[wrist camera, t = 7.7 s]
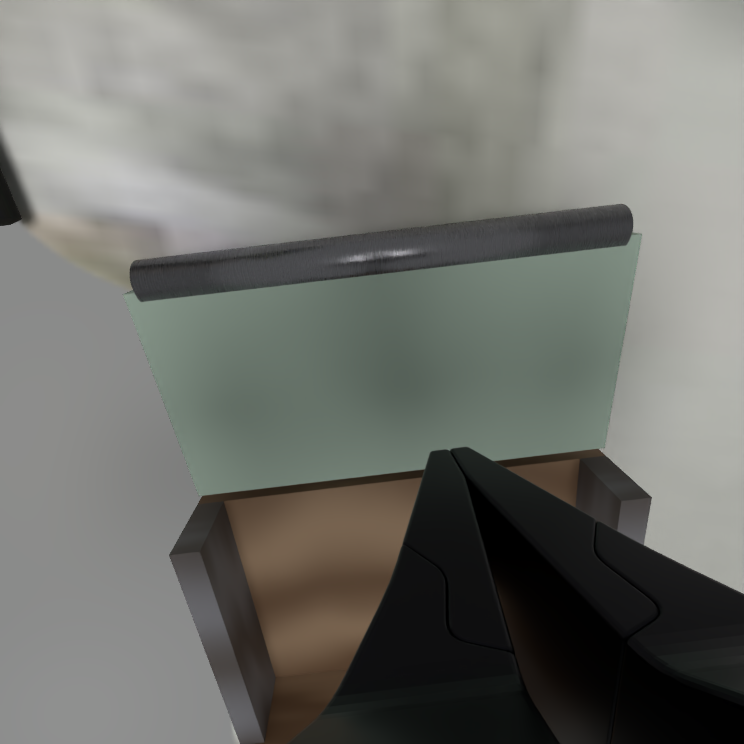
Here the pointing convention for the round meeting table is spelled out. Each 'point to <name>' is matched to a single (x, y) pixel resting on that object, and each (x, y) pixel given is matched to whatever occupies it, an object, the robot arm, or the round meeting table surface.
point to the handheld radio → (7, 204)
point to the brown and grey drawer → (330, 576)
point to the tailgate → (389, 346)
